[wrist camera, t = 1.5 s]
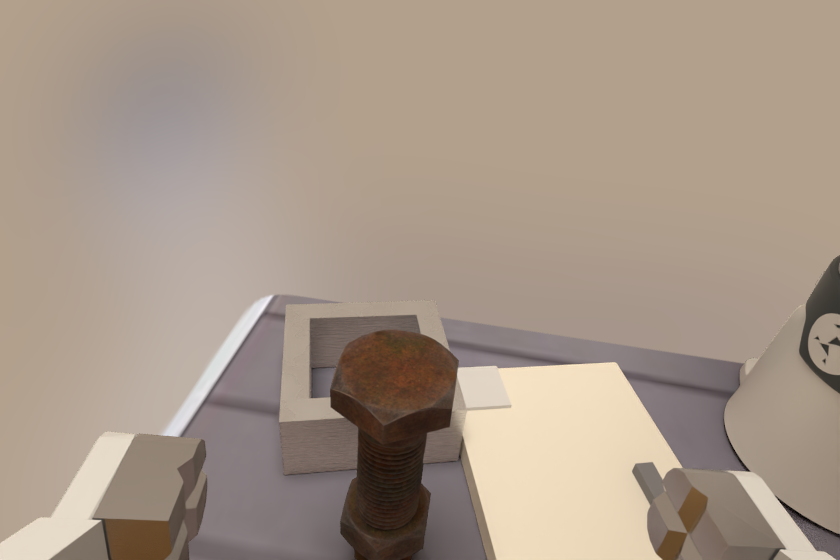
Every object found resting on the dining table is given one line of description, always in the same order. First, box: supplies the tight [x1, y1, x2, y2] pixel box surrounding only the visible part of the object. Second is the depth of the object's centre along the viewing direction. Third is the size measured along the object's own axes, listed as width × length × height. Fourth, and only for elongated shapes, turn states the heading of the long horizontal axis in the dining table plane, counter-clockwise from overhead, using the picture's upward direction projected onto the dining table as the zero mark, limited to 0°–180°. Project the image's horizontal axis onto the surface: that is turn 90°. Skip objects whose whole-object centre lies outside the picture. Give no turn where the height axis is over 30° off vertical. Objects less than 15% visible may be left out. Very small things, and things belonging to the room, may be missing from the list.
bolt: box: [330, 329, 459, 560], centre depth 28 cm, size 6×5×15 cm
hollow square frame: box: [279, 300, 467, 475], centre depth 40 cm, size 12×12×5 cm
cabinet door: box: [457, 362, 682, 560], centre depth 35 cm, size 14×22×3 cm, turn 9°
